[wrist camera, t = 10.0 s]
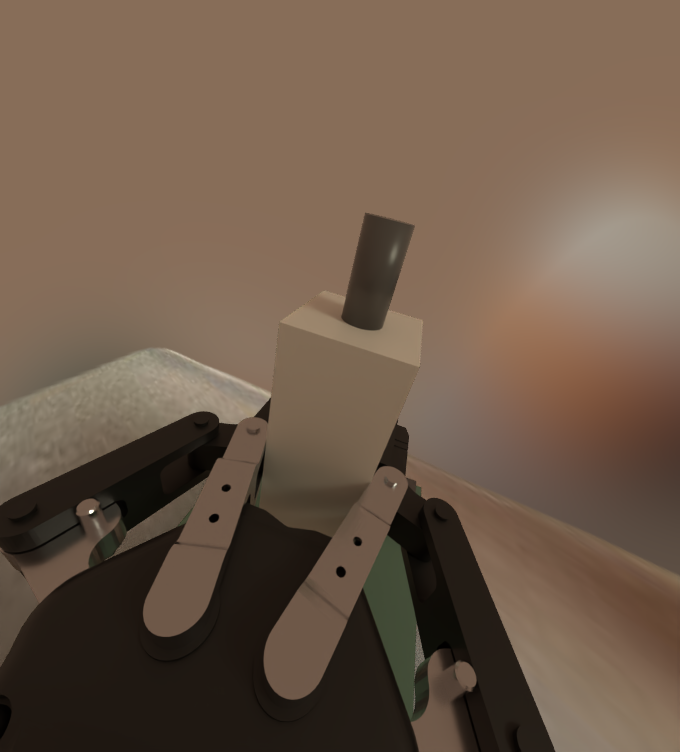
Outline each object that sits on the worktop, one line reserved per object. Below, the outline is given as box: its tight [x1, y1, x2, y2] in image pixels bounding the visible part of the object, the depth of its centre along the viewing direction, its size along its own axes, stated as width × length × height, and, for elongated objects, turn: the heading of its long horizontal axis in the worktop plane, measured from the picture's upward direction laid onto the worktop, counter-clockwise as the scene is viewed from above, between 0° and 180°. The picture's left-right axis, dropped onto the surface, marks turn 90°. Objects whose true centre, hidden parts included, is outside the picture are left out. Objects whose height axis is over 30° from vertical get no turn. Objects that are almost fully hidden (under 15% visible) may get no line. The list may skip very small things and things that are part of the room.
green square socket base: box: [177, 478, 421, 720], centre depth 18 cm, size 15×17×4 cm
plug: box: [259, 213, 423, 538], centre depth 12 cm, size 4×4×17 cm
